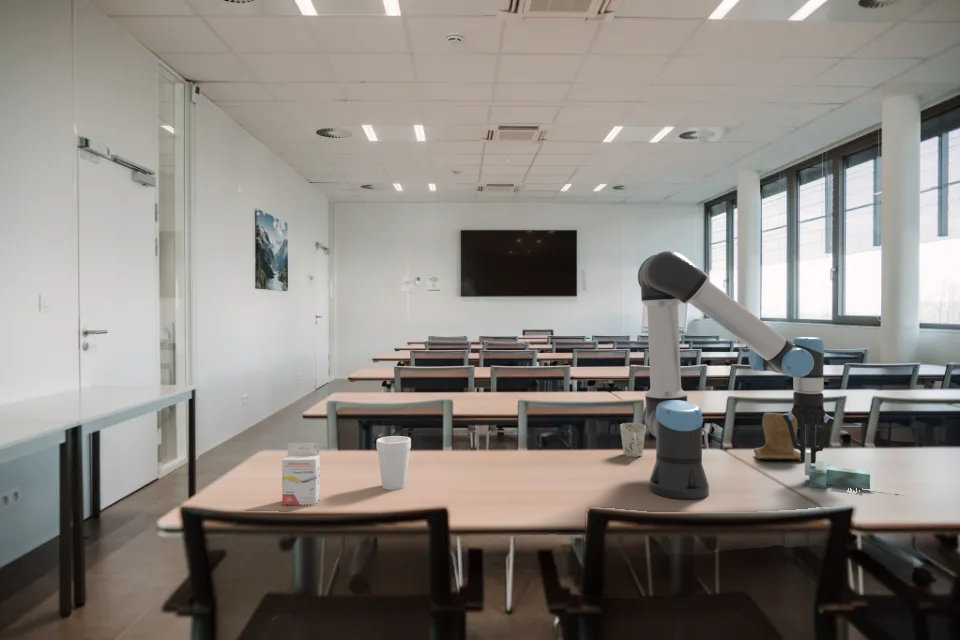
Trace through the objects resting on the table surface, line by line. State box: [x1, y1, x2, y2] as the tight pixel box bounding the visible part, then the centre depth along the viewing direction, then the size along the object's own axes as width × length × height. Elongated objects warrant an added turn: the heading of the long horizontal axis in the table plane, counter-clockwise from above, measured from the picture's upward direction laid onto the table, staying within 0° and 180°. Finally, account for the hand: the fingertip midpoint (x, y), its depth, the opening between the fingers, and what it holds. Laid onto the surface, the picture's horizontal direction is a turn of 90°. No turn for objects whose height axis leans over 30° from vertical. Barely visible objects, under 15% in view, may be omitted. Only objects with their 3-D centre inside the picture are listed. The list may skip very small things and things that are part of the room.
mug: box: [619, 422, 647, 458], centre depth 196 cm, size 8×13×10 cm, turn 174°
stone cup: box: [753, 412, 800, 461], centre depth 193 cm, size 15×12×15 cm
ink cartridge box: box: [281, 442, 321, 506], centre depth 151 cm, size 9×5×15 cm, turn 92°
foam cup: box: [375, 435, 412, 491], centre depth 165 cm, size 10×9×13 cm
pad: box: [830, 484, 863, 496], centre depth 162 cm, size 17×17×1 cm
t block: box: [808, 460, 871, 489], centre depth 165 cm, size 14×14×4 cm
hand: (808, 474), depth 169 cm, fingers closed
